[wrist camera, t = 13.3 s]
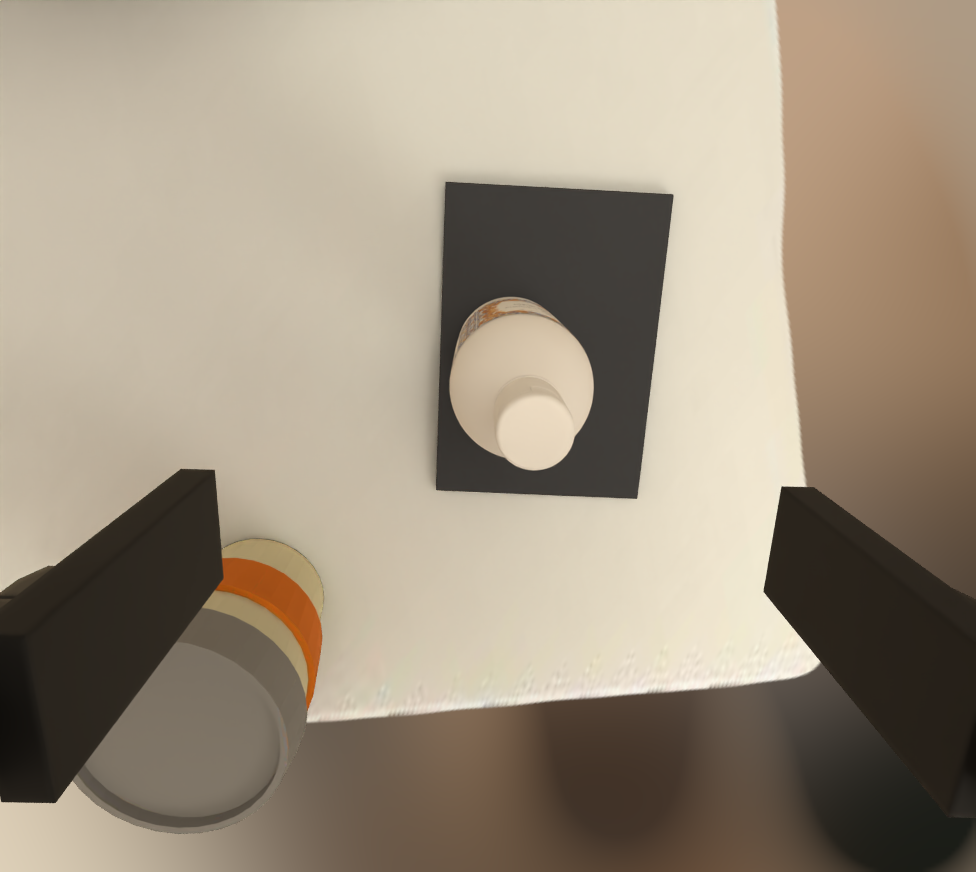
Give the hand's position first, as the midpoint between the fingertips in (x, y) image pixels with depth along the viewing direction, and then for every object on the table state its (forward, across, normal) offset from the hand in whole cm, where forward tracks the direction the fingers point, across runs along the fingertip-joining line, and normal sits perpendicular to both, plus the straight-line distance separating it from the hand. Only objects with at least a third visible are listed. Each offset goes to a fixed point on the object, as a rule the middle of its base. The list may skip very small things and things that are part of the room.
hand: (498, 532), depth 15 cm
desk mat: (+30, +4, 0) cm, 30 cm away
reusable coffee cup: (+30, -16, -19) cm, 38 cm away
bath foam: (+29, +2, 0) cm, 29 cm away
